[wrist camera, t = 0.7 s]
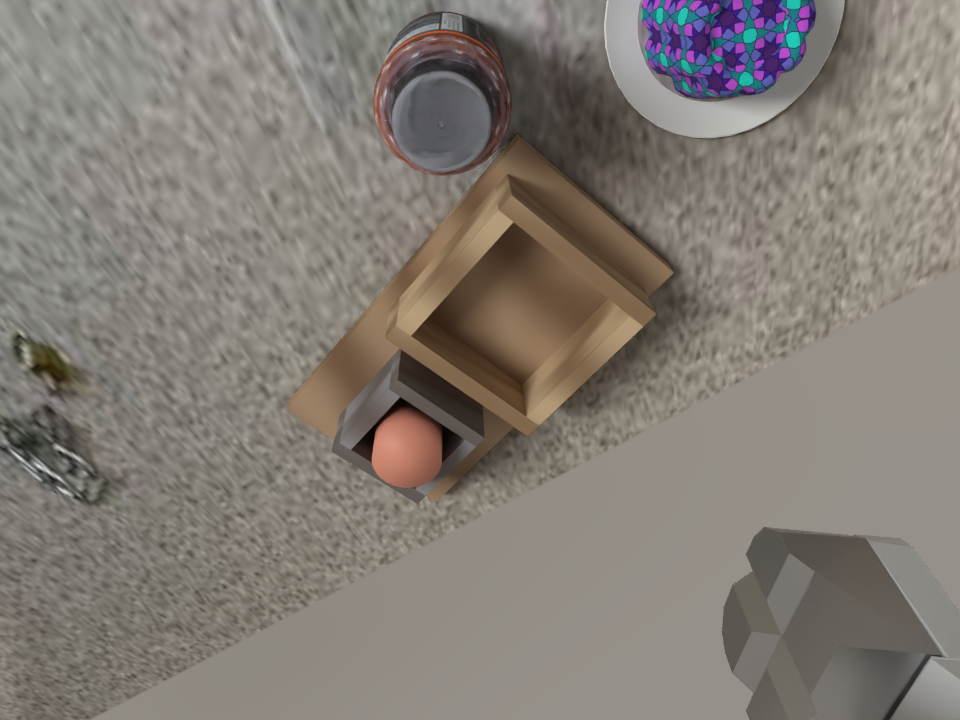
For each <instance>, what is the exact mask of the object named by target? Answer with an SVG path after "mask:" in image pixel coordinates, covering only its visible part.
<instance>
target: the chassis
mask: <svg viewBox="0 0 960 720" xmlns="http://www.w3.org/2000/svg"><path fill="white" fill-rule="evenodd" d="M673 273H674V272H673V270H672V269H671V267H670V265H669V264H668V263H667V262H666V261H665V260H663V259H662V258H661V257H660V256H659V255H658V254H656V253H655V252H654V251H653V250H652V249H651V248H649V247H648V246H647V245H646V244H645V243H644V242H642V241H641V240H640V239H639V238H638V237H637V236H635V235H634V234H633V233H632V232H631V231H630V230H629V229H627V228H626V227H625V226H624V225H623V224H622V223H620V222H619V221H618V220H617V219H616V218H615V217H613V216H612V215H611V214H610V213H609V212H608V211H606V210H605V209H604V208H603V207H602V206H601V205H599V204H598V203H597V202H596V201H595V200H594V199H592V198H591V197H590V196H589V195H588V194H587V193H585V192H584V191H583V190H582V189H581V188H580V187H579V186H577V185H576V184H575V183H574V182H573V181H572V180H570V179H569V178H568V177H567V176H566V175H565V174H563V173H562V172H561V171H560V170H559V169H558V168H556V167H555V166H554V165H553V164H552V163H551V162H549V161H548V160H547V159H546V158H545V157H544V156H542V155H541V154H540V153H539V152H538V151H537V150H535V149H534V148H533V147H532V146H531V145H530V144H529V143H527V142H526V141H525V140H524V139H523V138H522V137H520V136H519V135H518V134H516V135H515V137H514V138H513V139H512V140H511V141H510V142H509V144H508V145H507V146H506V147H505V148H504V149H503V151H502V152H501V153H500V154H499V155H498V156H497V158H496V159H495V160H494V161H493V162H492V163H491V165H490V166H489V167H488V168H487V169H486V170H485V172H484V173H483V174H482V175H481V176H480V178H479V179H478V180H477V181H476V182H475V183H474V185H473V186H472V187H471V188H470V189H469V190H468V192H467V193H466V194H465V195H464V196H463V197H462V199H461V200H460V201H459V202H458V203H457V204H456V206H455V207H454V208H453V209H452V210H451V211H450V213H449V214H448V215H447V216H446V217H445V218H444V220H443V221H442V222H441V223H440V224H439V225H438V227H437V228H436V229H435V230H434V231H433V233H432V234H431V235H430V236H429V237H428V238H427V240H426V241H425V242H424V243H423V244H422V245H421V247H420V248H419V249H418V250H417V251H416V252H415V254H414V255H413V256H412V257H411V258H410V259H409V261H408V262H407V263H406V264H405V265H404V266H403V268H402V269H401V270H400V271H399V272H398V273H397V275H396V276H395V277H394V278H393V279H392V280H391V282H390V283H389V284H388V285H387V286H386V287H385V289H384V290H383V291H382V292H381V293H380V295H379V296H378V297H377V298H376V299H375V300H374V302H373V303H372V304H371V305H370V306H369V307H368V309H367V310H366V311H365V312H364V313H363V314H362V316H361V317H360V318H359V319H358V320H357V321H356V323H355V324H354V325H353V326H352V327H351V328H350V330H349V331H348V332H347V333H346V334H345V335H344V337H343V338H342V339H341V340H340V341H339V342H338V344H337V345H336V346H335V347H334V348H333V350H332V351H331V352H330V353H329V354H328V355H327V357H326V358H325V359H324V360H323V361H322V362H321V364H320V365H319V366H318V367H317V368H316V369H315V371H314V372H313V373H312V374H311V375H310V376H309V378H308V379H307V380H306V381H305V382H304V383H303V385H302V386H301V387H300V388H299V389H298V390H297V392H296V393H295V394H294V395H293V396H292V397H291V399H290V400H289V403H288V406H287V409H286V410H287V411H288V412H290V413H292V414H293V415H295V416H296V417H298V418H300V419H301V420H303V421H305V422H306V423H308V424H309V425H311V426H313V427H314V428H316V429H318V430H319V431H321V432H322V433H324V434H326V435H327V436H329V437H331V438H332V439H334V444H333V449H332V452H333V453H335V454H337V455H338V456H340V457H342V458H343V459H345V460H347V461H348V462H350V463H352V464H353V465H355V466H357V467H358V468H360V469H361V470H363V471H365V472H366V473H368V474H370V475H371V476H373V477H375V478H376V479H378V480H380V481H381V482H383V483H385V484H386V485H388V486H389V487H391V488H393V489H394V490H396V491H398V492H399V493H401V494H403V495H404V496H406V497H408V498H409V499H411V500H412V501H414V502H416V503H417V504H418V503H419V502H420V501H421V500H422V499H423V498H424V497H425V496H427V497H428V498H430V499H432V500H433V501H435V502H437V501H438V500H439V499H440V498H441V497H442V496H443V495H444V494H445V493H446V492H447V491H448V490H449V489H450V488H451V487H452V486H453V485H454V484H456V483H457V482H458V481H459V480H460V479H461V478H462V477H463V476H464V475H465V474H466V473H467V472H468V471H469V470H470V469H471V468H472V467H473V466H474V465H475V464H476V463H477V462H478V461H479V460H480V459H481V458H482V457H484V456H485V455H486V454H487V453H488V452H489V451H490V450H491V449H492V448H493V447H494V446H495V445H496V444H497V443H498V442H499V441H500V440H501V439H502V438H503V437H504V436H505V435H506V434H507V433H508V432H509V431H510V430H512V429H513V428H514V427H515V428H516V429H518V430H519V431H521V432H522V433H524V434H525V435H527V436H529V435H530V434H531V433H532V432H533V431H534V430H535V429H536V428H537V427H538V426H539V425H540V424H541V423H542V422H543V421H544V420H545V419H547V418H548V417H549V416H550V415H551V414H552V413H553V412H554V411H555V410H556V409H557V408H558V407H559V406H560V405H561V404H562V403H563V402H564V401H565V400H567V399H568V398H569V397H570V396H571V395H572V394H573V393H574V392H575V391H576V390H577V389H578V388H579V387H580V386H581V385H582V384H583V383H584V382H586V381H587V380H588V379H589V378H590V377H591V376H592V375H593V374H594V373H595V372H596V371H597V370H598V369H599V368H600V367H601V366H602V365H603V364H604V363H606V362H607V361H608V360H609V359H610V358H611V357H612V356H613V355H614V354H615V353H616V352H617V351H618V350H619V349H620V348H621V347H622V346H623V345H625V344H626V343H627V342H628V341H629V340H630V339H631V338H632V337H633V336H634V335H635V334H636V333H637V332H638V331H639V330H640V329H641V328H642V327H643V326H645V325H646V324H647V323H648V322H649V321H650V320H651V319H652V318H653V317H654V316H655V315H656V312H655V310H654V308H653V306H652V304H651V302H650V300H649V298H648V297H649V296H650V295H651V294H653V293H654V292H655V291H656V290H657V289H658V288H659V287H660V286H661V285H662V284H663V283H664V282H665V281H666V280H667V279H668V278H669V277H670V276H671V275H672V274H673ZM401 400H406V401H407V402H409V403H410V404H412V405H413V406H415V407H416V408H418V409H420V410H421V411H423V412H424V413H426V414H427V415H429V416H430V417H432V418H433V419H435V420H436V421H438V422H439V423H441V424H442V465H441V468H440V470H439V472H438V474H437V475H436V476H435V478H433V479H432V480H431V481H430V482H428V483H426V484H424V485H421V486H418V487H413V488H402V487H397V486H394V485H391V484H389V483H387V482H385V481H384V480H382V479H381V478H380V477H379V476H378V475H377V473H376V472H375V470H374V468H373V465H372V453H373V446H374V439H375V432H376V424H377V421H378V420H379V419H380V418H381V417H382V416H383V415H384V414H385V413H386V412H387V411H388V410H389V408H390V407H391V406H392V405H393V404H394V403H395V402H397V401H401Z"/></svg>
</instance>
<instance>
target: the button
mask: <svg viewBox="0 0 960 720" xmlns="http://www.w3.org/2000/svg"><path fill="white" fill-rule="evenodd" d="M372 465H373V468H374V470H375V472H376V473H377V475H378V476H379V477H380V478H381V479H382V480H384V481H385V482H387V483H389V484H391V485H394V486H397V487H402V488H413V487H418V486H421V485H424V484H426V483H428V482H430V481H431V480H432V479H433V478H435V476H436V475H437V474H438V472H439V470H440V468H441V465H442V424H441V423H439V422H438V421H436V420H435V419H433V418H432V417H430V416H429V415H427V414H426V413H424V412H423V411H421V410H420V409H418V408H416V407H415V406H413V405H412V404H410V403H409V402H407V401H406V400H401V401H397V402H395V403H394V404H393V405H392V406H391V407H390V408H389V410H388V411H387V412H386V413H385V414H384V415H383V416H382V417H381V418H380V419H379V420H378V421H377V424H376V432H375V439H374V446H373V453H372Z"/></svg>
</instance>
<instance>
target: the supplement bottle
mask: <svg viewBox="0 0 960 720" xmlns="http://www.w3.org/2000/svg"><path fill="white" fill-rule="evenodd" d="M511 105H512V101H511V92H510V87H509V82H508V79H507V75H506V72H505V70H504V66H503V64H502V59H501V56H500V54H499V50H498V48H497V47H496V45H495V43H494V41H493V40H492V39H491V37H490V36H489V34H488V33H487V32H486V31H485V30H484V29H483V28H482V27H481V26H480V25H479V24H477V23H476V22H475V21H473V20H472V19H470V18H468V17H466V16H463V15H460V14H457V13H452V12H433V13H429V14H426V15H423V16H421V17H419V18H417V19H415V20H413V21H412V22H410V23H409V24H408V25H407V26H406V27H405V28H404V29H403V30H402V31H401V32H400V33H399V34H398V36H397V37H396V38H395V40H394V42H393V43H392V45H391V47H390V50H389V52H388V54H387V57H386V59H385V61H384V63H383V65H382V68H381V70H380V73H379V75H378V78H377V82H376V85H375V89H374V98H373V107H374V115H375V120H376V124H377V127H378V130H379V132H380V135H381V137H382V138H383V140H384V142H385V143H386V145H387V147H388V148H389V149H390V150H391V151H392V153H393V154H394V155H395V156H397V157H398V158H399V159H400V160H401V161H402V162H404V163H405V164H407V165H408V166H410V167H412V168H414V169H416V170H418V171H421V172H424V173H428V174H433V175H455V174H459V173H463V172H466V171H468V170H471V169H473V168H475V167H476V166H478V165H480V164H481V163H483V162H484V161H485V160H487V159H488V158H489V157H490V156H491V155H492V154H493V153H494V152H495V151H496V149H497V148H498V147H499V145H500V144H501V142H502V140H503V138H504V136H505V133H506V131H507V129H508V126H509V122H510V117H511Z"/></svg>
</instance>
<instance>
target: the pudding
mask: <svg viewBox="0 0 960 720" xmlns="http://www.w3.org/2000/svg"><path fill="white" fill-rule="evenodd" d="M640 1H641V0H607V4H606V12H605V21H604V31H605V47H606V52H607V56H608V61H609V65H610V68H611V71H612V73H613V76H614V78H615V80H616V83H617V85H618V87H619V88H620V90H621V91H622V93H623V94H624V96H625V98H626V99H627V101H628V102H629V103H630V104H631V105H632V106H633V107H634V108H635V109H636V110H637V111H638V112H639V113H640V114H641V115H642V116H643V117H645V118H646V119H647V120H649V121H650V122H652V123H653V124H655V125H656V126H658V127H660V128H663V129H665V130H667V131H670V132H672V133H674V134H679V135H683V136H688V137H692V138H717V137H724V136H731V135H734V134H737V133H741V132H744V131H747V130H750V129H752V128H754V127H756V126H758V125H760V124H763V123H765V122H767V121H769V120H770V119H772V118H773V117H775V116H776V115H777V114H779V113H780V112H782V111H783V110H785V109H786V108H787V107H788V106H789V105H791V104H792V103H793V102H794V101H795V100H796V99H797V98H798V97H799V96H800V95H801V94H802V93H803V92H804V91H805V90H806V89H807V87H808V86H809V85H810V84H811V82H812V81H813V80H814V79H815V77H816V76H817V75H818V73H819V72H820V70H821V68H822V67H823V65H824V63H825V62H826V60H827V58H828V57H829V55H830V52H831V50H832V47H833V45H834V43H835V40H836V38H837V36H838V33H839V29H840V25H841V21H842V17H843V13H844V4H845V0H644V2H643V4H642V22H643V23H644V25H645V26H646V28H647V29H648V31H649V32H650V36H649V39H648V41H647V44H646V47H645V52H646V56H647V60H648V63H649V64H650V66H651V67H652V68H653V69H654V71H655V72H656V73H658V74H663V75H669V76H671V77H672V80H673V83H674V86H675V89H676V91H678V92H680V93H681V94H683V95H684V96H686V97H693V98H711V97H732V96H738V97H735V98H731V99H728V100H724V101H716V102H699V101H694V100H690V99H686V98H683V97H681V96H679V95H676V94H674V93H673V92H671V91H670V90H668V89H667V88H666V87H664V86H663V85H662V84H661V83H660V82H659V81H658V80H657V79H656V78H655V77H654V76H653V74H652V73H651V71H650V69H649V68H648V66H647V65H646V62H645V60H644V57H643V55H642V52H641V49H640V44H639V39H638V25H637V20H638V12H639V4H640Z"/></svg>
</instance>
